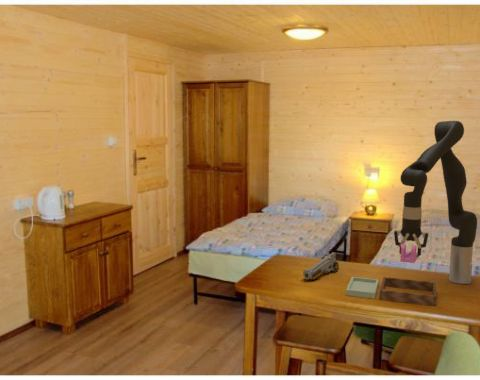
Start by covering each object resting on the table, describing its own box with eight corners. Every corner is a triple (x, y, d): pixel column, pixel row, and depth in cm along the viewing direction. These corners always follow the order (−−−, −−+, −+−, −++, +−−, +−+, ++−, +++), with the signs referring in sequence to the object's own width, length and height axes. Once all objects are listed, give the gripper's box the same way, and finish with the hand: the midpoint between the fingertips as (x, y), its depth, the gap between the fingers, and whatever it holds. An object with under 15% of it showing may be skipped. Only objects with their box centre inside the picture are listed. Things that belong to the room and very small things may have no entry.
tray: (378, 284, 234) (378, 279, 233) (374, 298, 216) (374, 293, 216) (351, 281, 238) (352, 276, 237) (345, 295, 220) (346, 289, 220)
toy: (340, 270, 254) (338, 251, 251) (313, 291, 238) (310, 271, 235) (330, 268, 258) (328, 249, 255) (303, 288, 242) (301, 269, 239)
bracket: (414, 263, 211) (415, 246, 210) (400, 261, 214) (401, 245, 213) (419, 255, 223) (419, 239, 222) (405, 253, 225) (406, 238, 224)
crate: (434, 291, 226) (435, 282, 225) (435, 306, 208) (436, 296, 208) (383, 285, 233) (383, 276, 233) (379, 299, 215) (380, 290, 215)
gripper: (430, 216, 217) (427, 255, 219) (394, 214, 222) (392, 252, 224) (430, 219, 210) (428, 259, 212) (393, 217, 215) (391, 256, 217)
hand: (409, 255), depth 218 cm, fingers closed on bracket, 6 cm apart
